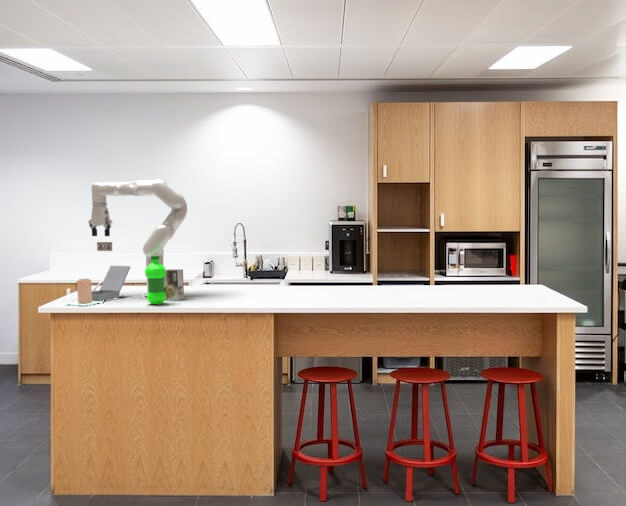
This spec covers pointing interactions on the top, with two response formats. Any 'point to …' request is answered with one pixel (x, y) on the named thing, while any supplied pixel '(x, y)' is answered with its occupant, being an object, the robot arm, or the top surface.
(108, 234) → the robot arm
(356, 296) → the top surface
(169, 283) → the coffee box
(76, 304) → the mat
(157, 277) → the plastic bottle
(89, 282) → the block
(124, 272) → the case
